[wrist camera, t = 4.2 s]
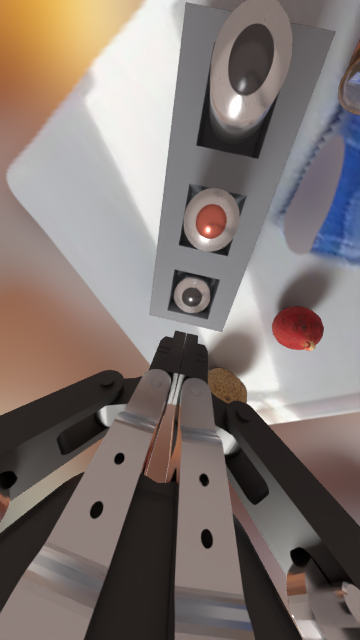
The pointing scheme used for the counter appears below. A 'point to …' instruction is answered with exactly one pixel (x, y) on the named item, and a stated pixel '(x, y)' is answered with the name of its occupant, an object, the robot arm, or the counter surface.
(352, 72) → the tin
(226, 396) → the brown oval lump
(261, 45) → the knob
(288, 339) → the onion
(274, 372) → the counter surface
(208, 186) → the mount
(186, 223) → the knob mid
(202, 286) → the knob
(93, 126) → the counter surface
